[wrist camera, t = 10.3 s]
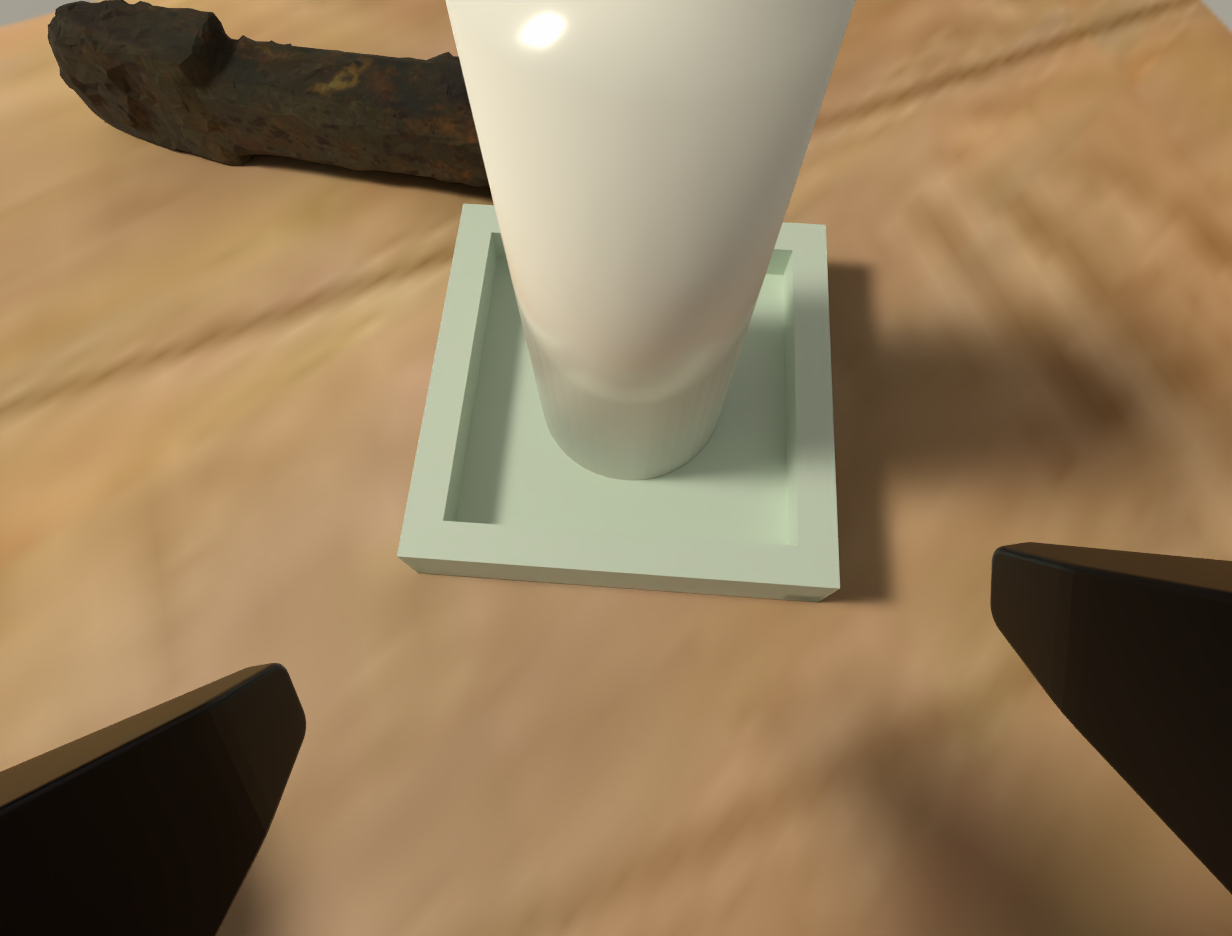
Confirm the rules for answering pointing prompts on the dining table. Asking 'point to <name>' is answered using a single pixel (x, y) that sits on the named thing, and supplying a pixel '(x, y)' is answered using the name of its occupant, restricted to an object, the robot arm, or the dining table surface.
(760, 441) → the tray
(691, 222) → the white rounded tapered cylinder
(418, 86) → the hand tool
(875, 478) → the dining table surface
